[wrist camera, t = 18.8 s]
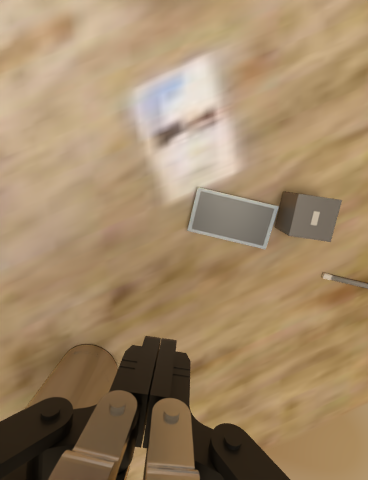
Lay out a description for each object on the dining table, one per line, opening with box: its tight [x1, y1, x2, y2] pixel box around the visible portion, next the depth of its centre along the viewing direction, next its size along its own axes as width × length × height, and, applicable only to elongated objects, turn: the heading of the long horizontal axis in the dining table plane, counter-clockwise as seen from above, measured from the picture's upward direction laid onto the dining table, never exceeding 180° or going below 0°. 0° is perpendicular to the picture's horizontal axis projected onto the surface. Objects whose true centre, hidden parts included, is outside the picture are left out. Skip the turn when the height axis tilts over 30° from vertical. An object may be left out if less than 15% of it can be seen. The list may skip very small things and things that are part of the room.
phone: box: [187, 187, 279, 249], centre depth 38 cm, size 6×11×2 cm, turn 77°
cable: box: [321, 273, 368, 288], centre depth 39 cm, size 13×1×1 cm, turn 77°
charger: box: [275, 192, 342, 242], centre depth 35 cm, size 5×6×6 cm
